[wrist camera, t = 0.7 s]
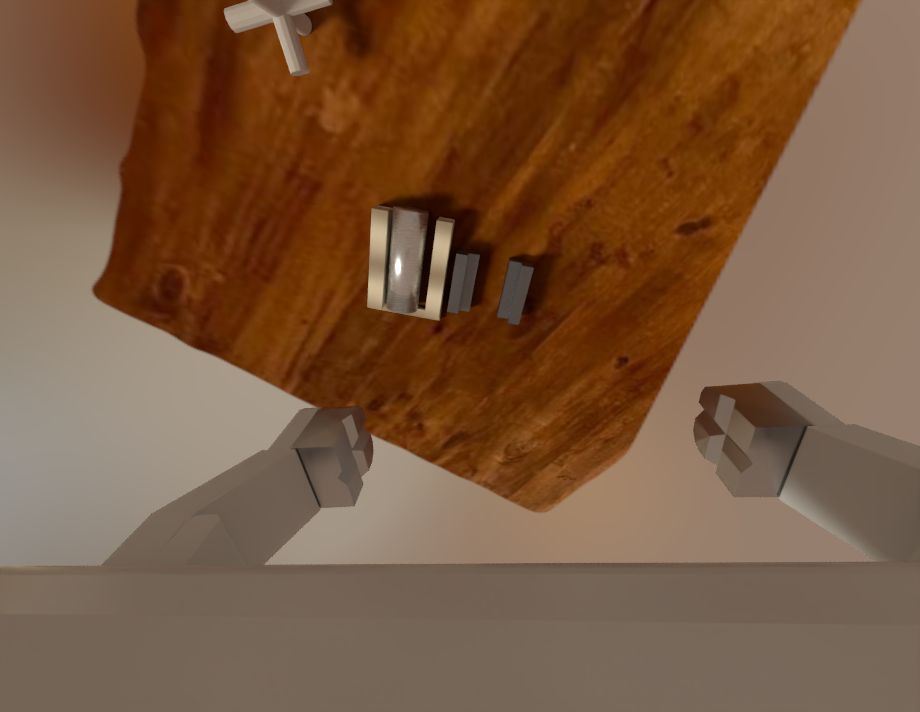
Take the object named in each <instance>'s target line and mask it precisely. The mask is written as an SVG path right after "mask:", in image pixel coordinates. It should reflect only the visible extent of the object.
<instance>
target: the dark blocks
mask: <svg viewBox="0 0 920 712" xmlns="http://www.w3.org/2000/svg"><path fill="white" fill-rule="evenodd" d="M479 258H480V252H475V251H470V250H464V249H459V248H458V250H457V253H456V259H455V265H454V271H453V278H452V284H451V290H450V297H449V303H448V309H447V312H452V313H457V314H458V310H462V311H467V312H469V310H470V305H471V299H472V294H473V289H474V284H475V278H476V273H477V268H478V263H479ZM533 269H534V267H533V265H532V262H529V261H523V260H518V259H513V258H509V262H508V267H507V271H506V275H505V280H504V284H503V288H502V293H501V297H500V301H499V306H498V310H497V317H500V318H506V319H508V323H512V324H517V325H519V321H520V318H521V314H522V310H523V307H524V303H525V299H526V295H527V292H528V288H529V284H530V280H531V277H532V273H533Z"/></svg>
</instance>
